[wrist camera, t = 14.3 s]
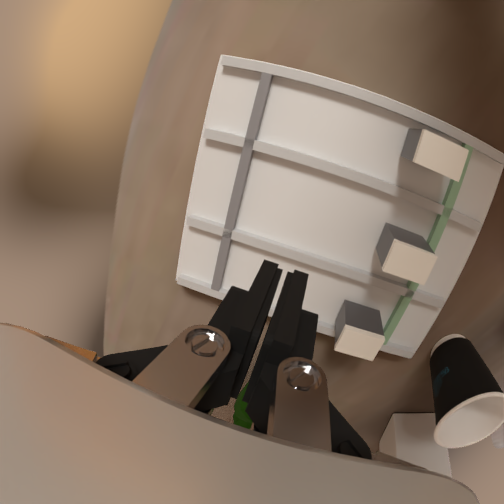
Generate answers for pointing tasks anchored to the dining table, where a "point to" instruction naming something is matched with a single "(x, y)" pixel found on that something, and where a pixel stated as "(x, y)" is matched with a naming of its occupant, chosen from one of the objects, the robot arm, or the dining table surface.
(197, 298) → the dining table surface
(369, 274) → the board
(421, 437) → the milk carton
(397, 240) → the block
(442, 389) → the dixie cup
